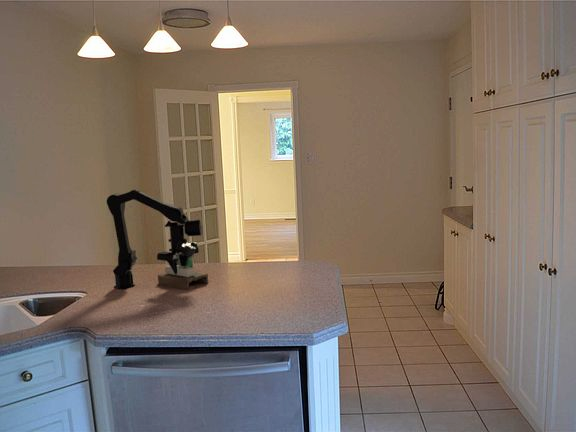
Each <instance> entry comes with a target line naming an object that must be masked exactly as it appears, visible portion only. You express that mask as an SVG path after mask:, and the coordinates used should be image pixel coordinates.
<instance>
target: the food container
mask: <svg viewBox="0 0 576 432" xmlns="http://www.w3.org/2000/svg"><path fill="white" fill-rule="evenodd" d="M194 256H195V254H194V255H193V256H191V257H190V258H189V259H188V262H187V265H186V267H192V268H194V264H193V263H194V259H193V258H194ZM176 258H177V259H178V261H177V265H179V266H181V264H180V259H179V255H177V256H176Z"/></svg>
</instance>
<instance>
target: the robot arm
mask: <svg viewBox="0 0 576 432" xmlns="http://www.w3.org/2000/svg"><path fill="white" fill-rule="evenodd" d="M133 200H134V201H137V202H139V203H141V204H143V205H145V206H147V207H149V208H151V209H153V210H155V211H157V212H159V213H160V214H162V215H163V217H165V218H167V219H168V221H167V222H166V223H165V224H164V227H165V228H169V239H168V242H169V243H170V248H168V250H169V251H161V252H160V251H159V252H158V253H157V254H156V259H157V260H158V261H164V262H167V264H168V265H170V266H171V268H172V270H173V272H174V273H175V274H177V261H178V259H177V258H176V256H177V255H179V259H180V264H181V266H186V265H187V262H188V259H189V258H190V257H191V256H193V255H194V256H195V254H198V253H199V250H200V249H199V246H198V243H197V242H195V241H193V242H188V240H187V238H186V237H185V235H187V236H188V237H199V236H200V237H202V234H203V226H202V223H201V219H193V220H192V219H190V220H189V218H188V217H187V216H186V215H185V214H184V209H183V207H181V206H178V205H174V204H170V203H167V202H163V201H161V200H159V199H157V198H155V197H153V196H151V195H149V194H147V193H144V192H142V191H141V190H140V189H132V190H130V191H127V192H125V193H115V194H110V195H109V196H108V197H107V199H106V205H107V207H108V210H109V212H110V214H111V215H112V218H113V223H114V229H115V232H116V233H115V234H116V238H117V244H118V254H117V256H118V257H117V265H116V266H115V268H114V269H113V270H112V272H113V274H114V281H115V285H113V288H116V289H120V290H125V289H127V288H131V287H135V286H136V284H135V283H134V275H133V273H132V270H133V269H132V268H133V267H134V266H135V265H136V264H137V260H138V258H137V256H136V249H132V248H131V245H130V241H129V235H128V230H127V223H126V218H125V210H126V203H127V202H130V201H133ZM194 256H193V257H194Z"/></svg>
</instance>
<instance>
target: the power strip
mask: <svg viewBox="0 0 576 432" xmlns="http://www.w3.org/2000/svg"><path fill="white" fill-rule="evenodd" d="M195 272H196V269H195V267H193V268H192V267H186V266H179V265H177V274H175V273H174V272H173V270H172V268H171V266H170V265H169V264H168V265H165V266H164V273H168V274H171V275H179V276H185V277H187V278H189V277H190V276H193V275H195ZM190 283H192V281H190V282H189V284H190Z"/></svg>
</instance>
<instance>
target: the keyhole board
mask: <svg viewBox="0 0 576 432" xmlns="http://www.w3.org/2000/svg"><path fill="white" fill-rule="evenodd" d="M190 281H191V282H198V283H204V284H208V283H209V275H208V273H207V272H206V273H205V272H200V271H195V275H193V276H190V277H189V278H187V277H185V276H179V275H171V274H168V273H165V272H164V273H160V274H158V275H157V283H158V285H162V286H166V287H172V288H178V289H182V290H190V283H189V282H190Z"/></svg>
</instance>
